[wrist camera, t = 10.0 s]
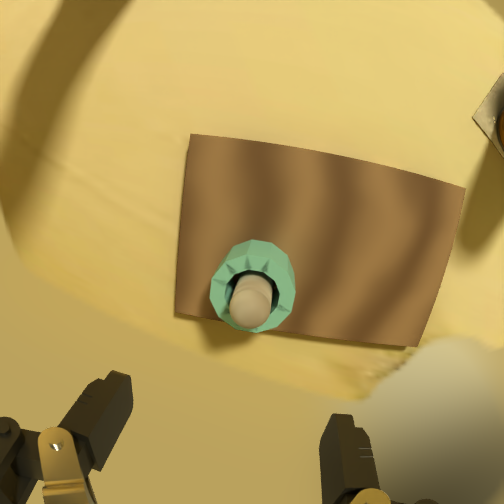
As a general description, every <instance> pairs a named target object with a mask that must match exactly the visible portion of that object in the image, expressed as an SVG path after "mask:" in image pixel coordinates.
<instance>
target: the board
mask: <svg viewBox="0 0 504 504" xmlns="http://www.w3.org/2000/svg"><path fill="white" fill-rule="evenodd" d="M465 190H466V188H463V187H459V186H456V185H453V184H450V183H446V182H443V181H440V180H436V179H433V178H429V177H426V176H422V175H419V174H415V173H411V172H408V171H404V170H400V169H396V168H392V167H388V166H384V165H380V164H376V163H371V162H367V161H363V160H358V159H354V158H349V157H344V156H339V155H334V154H329V153H324V152H319V151H314V150H308V149H303V148H297V147H291V146H285V145H278V144H272V143H265V142H258V141H251V140H243V139H235V138H227V137H218V136H208V135H198V134H190V142H189V150H188V158H187V166H186V175H185V184H184V194H183V204H182V215H181V226H180V238H179V252H178V267H177V283H176V303H175V312H178V313H183V314H188V315H193V316H198V317H203V318H208V319H213V320H218V321H223V320H222V319H221V318H219V317H218V315H217V313H216V311H215V309H214V307H213V305H212V302H211V300H210V289H211V280H212V277H213V275H214V273H215V271H216V270H217V268H218V266H219V264H220V263H221V261H222V260H223V258H224V257H225V256H226V255H227V253H228V252H229V251H230V250H231V248H232V247H233V246H235V245H238V244H241V243H243V242H246V241H249V240H258V241H265V242H271V243H273V244H274V245H275V246H277V247H278V248H279V249H280V250H282V251H283V252H284V253H285V254H287V255H288V258H289V260H290V263H291V266H292V268H293V271H294V277H295V291H296V293H295V298H294V302H293V307H292V311H291V313H290V314H289V315H288V316H287V317H286V318H285V319H284V320H283V321H282V322H281V323H280V324H279V325H278V326H277V327H275V328H272V329H270V330H276V331H283V332H290V333H296V334H303V335H310V336H318V337H325V338H333V339H341V340H350V341H358V342H368V343H377V344H387V345H398V346H410V347H417V346H418V344H419V341H420V339H421V337H422V334H423V332H424V329H425V327H426V324H427V321H428V319H429V316H430V314H431V311H432V308H433V305H434V303H435V300H436V297H437V294H438V291H439V288H440V285H441V282H442V279H443V276H444V273H445V270H446V266H447V263H448V260H449V256H450V253H451V249H452V245H453V242H454V238H455V234H456V230H457V226H458V222H459V218H460V214H461V209H462V205H463V200H464V195H465ZM232 278H233V280H234V283H235V285H236V287H235V290H234V293H233V296H232V299H231V301H230V306H229V310H230V315H231V317H232V319H233V321H234V322H235V323H236V324H237V325H239V326H241V327H243V328H247V329H253V328H257V327H259V326H261V325H263V324H264V323H265V322H266V321H267V319H268V317H269V315H270V311H271V300H272V292H273V291H274V290H275V289H276V288H277V285H276V283H275V281H274V280H273V279H272V278H270V277H269V276H268V275H266V274H265V273H264V272H260V271H254V270H246V271H243V272H240V273H237V274H234V276H233V277H232ZM224 322H225V321H224Z"/></svg>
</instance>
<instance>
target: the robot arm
mask: <svg viewBox="0 0 504 504" xmlns="http://www.w3.org/2000/svg"><path fill="white" fill-rule="evenodd" d="M132 408H133V394H132V385H131V377H130V376H129V375H127V374H123V373H120V372H117V371H114V370H112V371H111V372H110V373H109V374H108V376H107V377H106V378H105V380H102V379H99V378H98V379H97V380H95V381H93V382H91V383H90V384H88V386H87V387H86V388H85V390H84V391H83V392H82V395H80V396H79V398H78V399H77V401H76V402H75V403H74V405H73V406H72V407H71V409H70V410H69V411H68V413H67V414H66V416H65V417H64V418H63V420H62V421H61V423H60V424H59V425H58V426H57V427H50V428H47V429H45V430H44V431H42V432H35V431H29V430H25V429H20V427H19V425H18V423H17V422H16V421H15V420H14V419H12V418H9V417H0V504H26V502H27V500H28V498H29V496H30V494H31V492H32V490H33V488H34V486H35V485H36V483H37V481H38V480H42V481H44V483H45V487H43V488H42V493H43V498H44V502H45V504H97V501H96V498H95V495H94V492H93V489H92V486H91V483H90V479H89V477H88V475H89V473H90V471H91V469H95V470H97V471H101V470H102V468H103V466H104V464H105V462H106V460H107V458H108V456H109V454H110V453H111V451H112V449H113V447H114V445H115V443H116V441H117V439H118V437H119V435H120V433H121V431H122V430H123V428H124V425H125V424H126V422H127V420H128V418H129V416H130V414H131V412H132ZM319 455H320V469H321V486H322V504H404V503H398V502H395V501H392V500H390V498H389V497H388V496H387V494H386V493H384V492H383V491H381V489H380V486H379V482H378V477H377V472H376V467H375V462H374V458H373V453H372V450H371V444H370V439H369V436H368V435H367V434H366V432H365V431H364V430H363V428H357V427H355V425H354V420H353V416H352V415H347V414H332V415H331V418H330V420H329V422H328V424H327V426H326V429H325V431H324V433H323V435H322V437H321V440H320V446H319ZM415 504H438V503H437V502H436V501H434V500H431V499H422V500H419V501H417V502H416V503H415Z"/></svg>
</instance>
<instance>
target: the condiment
mask: <svg viewBox="0 0 504 504" xmlns="http://www.w3.org/2000/svg"><path fill="white" fill-rule="evenodd" d="M493 117H495V120H494V119H493ZM473 118H474V119H475V121H476V122H477V123H478V124H479V125H480V127H481V128H482V129H483V130H484V132H485V133H486V134H487V136H488V137H489V138H490V140H491V141H492V142H493V144H494V145H495V147H496V148H497V150H498V151H499V153H500V154H501V155H502V157H503V158H504V73H502V75H501V76H500V77H499V79H498V80H497V82H496V83H495V85H494V86H493V88H492V89H491V91H490V92H489V94H488V95H487V96H486V98H485V100H484V101H483V103H482V104H481V106H480V107H479V108H478V110H477V112H476V113H475V115H474V116H473ZM494 121H495V122H496V124H494Z"/></svg>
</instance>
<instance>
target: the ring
mask: <svg viewBox="0 0 504 504" xmlns="http://www.w3.org/2000/svg"><path fill="white" fill-rule="evenodd" d="M246 270H254V271H260V272H264V273H265V274H266V275H268V276H269V277H270V278H272V279H273V280H274V281H275V283H276V285H277V288H276V289H275V290H274V291H273V292H272V300H271V311H270V315H269V317H268V319H267V321H266V322H265V323H264V324H263V325H261V326H259V327H257V328H253V329H247V328H243V327H241V326H239V325H237V324H236V323H235V322H234V321H233V319H232V317H231V315H230V310H229V306H230V301H231V299H232V296H233V293H234V290H235V287H236V285H235V283H234V280H233V278H232V277H233V276H234V274H237V273H240V272H243V271H246ZM295 293H296V291H295V277H294V271H293V268H292V266H291V263H290V260H289V258H288V255H287V254H285V253H284V252H283V251H282V250H280V249H279V248H278V247H277V246H275V245H274V244H273V243H271V242H265V241H258V240H249V241H246V242H243V243H241V244H238V245H235V246H233V247H232V248H231V250H230V251H229V252H228V253H227V255H226V256H225V257H224V258H223V260H222V261H221V263H220V264H219V266H218V268H217V270H216V271H215V273H214V275H213V277H212V280H211V289H210V300H211V302H212V305H213V307H214V309H215V311H216V313H217V315H218V317H219V318H221V319H222V320H223V321H225V322H226V323H228V324H229V325H230V326H232V327H233V328H235V329H237V330H242V331H248V332H254V333H258V332H262V331H265V330H269V329H272V328H275V327H277V326H278V325H279V324H280V323H281V322H282V321H283V320H284V319H285V318H286V317H287V316H288V315H289V314H290V313H291V311H292V307H293V302H294V298H295Z"/></svg>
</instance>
